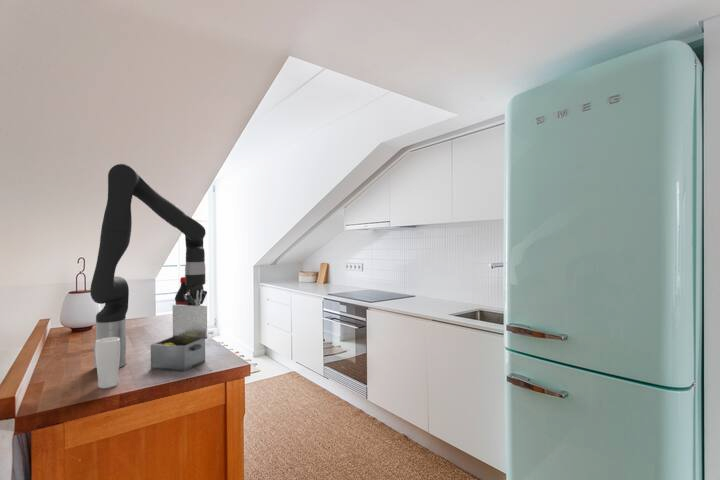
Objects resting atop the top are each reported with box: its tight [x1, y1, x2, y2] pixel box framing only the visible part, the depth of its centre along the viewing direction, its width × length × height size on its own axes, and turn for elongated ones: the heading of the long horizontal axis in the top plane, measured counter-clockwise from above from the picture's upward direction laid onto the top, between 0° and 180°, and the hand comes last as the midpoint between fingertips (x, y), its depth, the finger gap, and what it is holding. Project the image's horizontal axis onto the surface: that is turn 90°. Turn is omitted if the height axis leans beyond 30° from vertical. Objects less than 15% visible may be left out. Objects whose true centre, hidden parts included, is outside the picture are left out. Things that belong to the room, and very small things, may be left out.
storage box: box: [150, 335, 206, 373], centre depth 141 cm, size 16×12×9 cm
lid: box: [172, 304, 208, 340], centre depth 148 cm, size 15×13×2 cm
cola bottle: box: [174, 276, 188, 305], centre depth 172 cm, size 8×8×30 cm
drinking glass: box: [94, 337, 120, 390], centre depth 121 cm, size 7×7×15 cm
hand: (195, 315), depth 151 cm, fingers closed
